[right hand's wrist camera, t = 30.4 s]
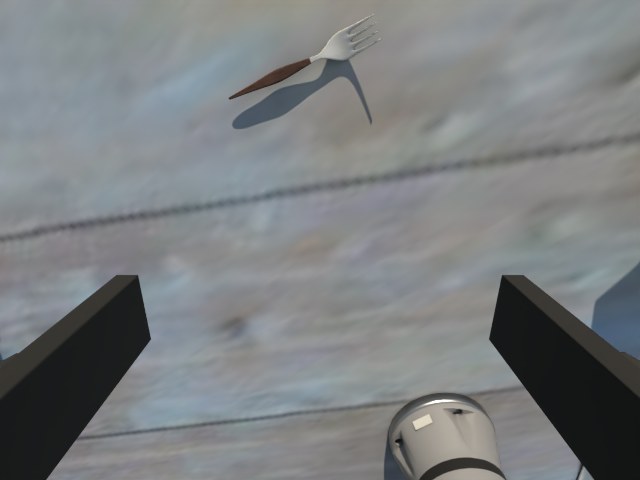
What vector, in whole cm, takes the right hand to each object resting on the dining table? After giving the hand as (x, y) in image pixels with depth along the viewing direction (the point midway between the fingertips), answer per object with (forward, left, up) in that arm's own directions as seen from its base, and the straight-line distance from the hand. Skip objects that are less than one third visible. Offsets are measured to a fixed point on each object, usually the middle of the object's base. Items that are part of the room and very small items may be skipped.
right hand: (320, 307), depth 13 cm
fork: (+10, -5, -28) cm, 30 cm away
